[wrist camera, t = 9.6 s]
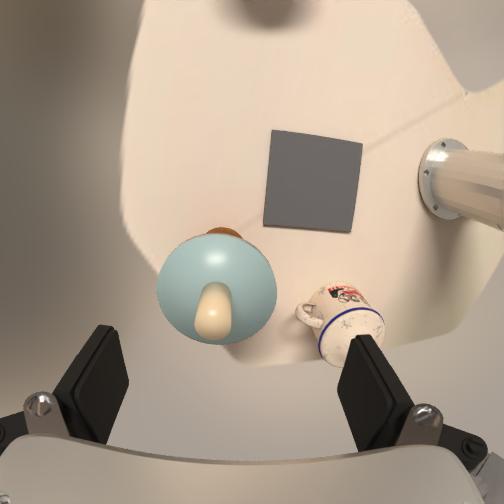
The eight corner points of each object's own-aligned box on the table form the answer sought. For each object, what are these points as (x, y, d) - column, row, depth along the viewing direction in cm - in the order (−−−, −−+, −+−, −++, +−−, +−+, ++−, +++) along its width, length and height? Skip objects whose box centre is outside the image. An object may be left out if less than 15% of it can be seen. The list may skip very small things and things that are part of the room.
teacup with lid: (372, 289, 43) (408, 330, 31) (344, 337, 45) (370, 385, 34) (303, 264, 41) (326, 305, 30) (277, 319, 43) (289, 370, 32)
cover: (280, 236, 27) (293, 260, 21) (269, 339, 30) (276, 379, 24) (157, 230, 26) (136, 253, 20) (163, 334, 29) (150, 372, 23)
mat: (361, 143, 36) (362, 143, 35) (349, 231, 39) (350, 231, 39) (271, 129, 35) (272, 129, 34) (262, 223, 38) (263, 224, 38)
